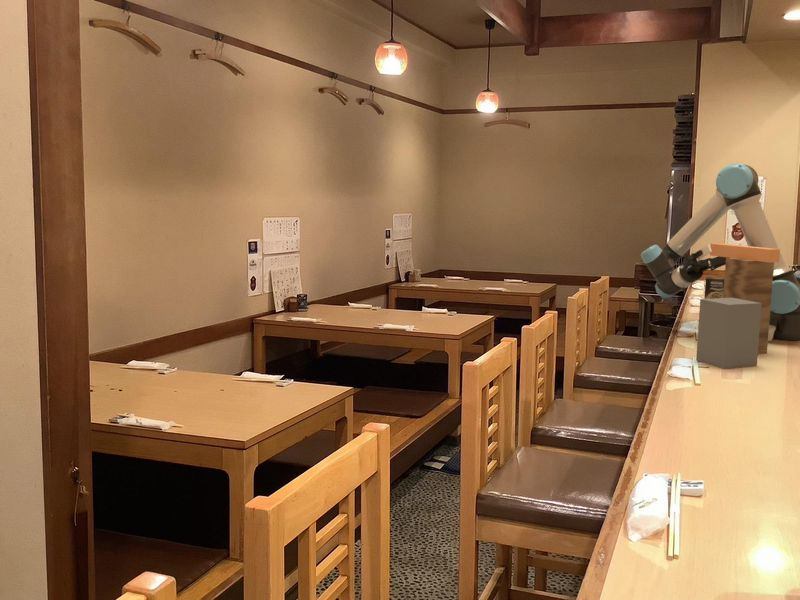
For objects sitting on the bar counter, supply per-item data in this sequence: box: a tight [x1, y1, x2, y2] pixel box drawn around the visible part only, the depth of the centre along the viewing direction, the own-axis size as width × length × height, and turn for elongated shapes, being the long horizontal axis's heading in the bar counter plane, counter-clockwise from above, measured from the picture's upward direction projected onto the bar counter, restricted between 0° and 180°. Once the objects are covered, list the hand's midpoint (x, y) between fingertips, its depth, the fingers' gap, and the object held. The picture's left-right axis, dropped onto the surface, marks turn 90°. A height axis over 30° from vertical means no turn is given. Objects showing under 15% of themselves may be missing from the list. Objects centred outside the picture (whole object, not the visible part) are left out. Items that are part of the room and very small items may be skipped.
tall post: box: [723, 258, 774, 355], centre depth 249 cm, size 10×10×30 cm
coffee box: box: [703, 276, 725, 299], centre depth 319 cm, size 9×6×16 cm
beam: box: [709, 242, 781, 262], centre depth 250 cm, size 26×4×4 cm, turn 19°
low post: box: [695, 298, 762, 370], centre depth 232 cm, size 12×12×19 cm
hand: (726, 247), depth 256 cm, fingers open, 13 cm apart
